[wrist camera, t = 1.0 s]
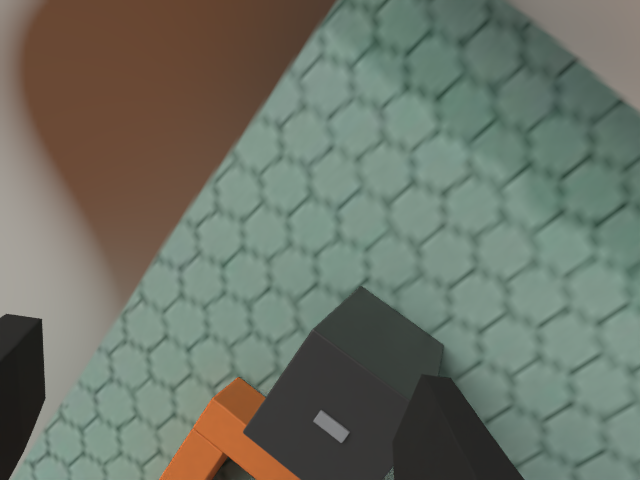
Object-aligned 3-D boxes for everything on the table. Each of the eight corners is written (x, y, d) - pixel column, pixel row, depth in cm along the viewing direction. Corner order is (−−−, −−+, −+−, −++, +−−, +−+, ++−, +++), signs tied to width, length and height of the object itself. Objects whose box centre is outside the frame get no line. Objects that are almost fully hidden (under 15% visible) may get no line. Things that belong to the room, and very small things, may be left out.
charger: (444, 345, 22) (431, 418, 15) (386, 420, 23) (349, 523, 16) (360, 285, 22) (311, 329, 15) (308, 361, 23) (239, 434, 16)
